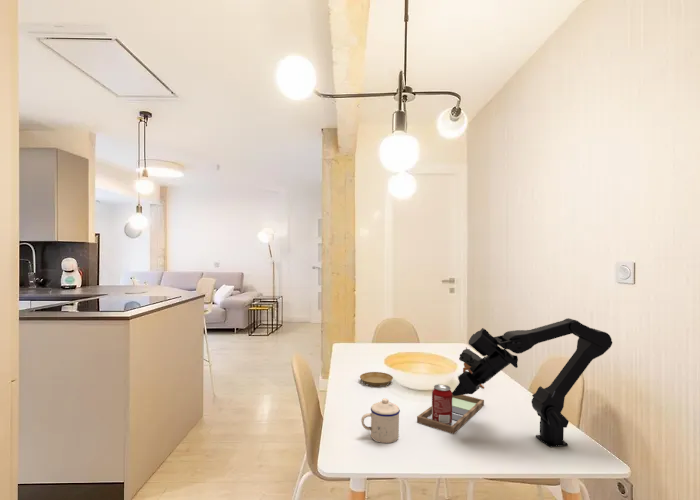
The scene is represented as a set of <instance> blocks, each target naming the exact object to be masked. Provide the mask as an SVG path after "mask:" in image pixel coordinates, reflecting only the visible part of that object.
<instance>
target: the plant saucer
mask: <svg viewBox="0 0 700 500" xmlns="http://www.w3.org/2000/svg"><path fill="white" fill-rule="evenodd" d="M359 379H360V380H361V381H362V382H363V384H365V385H367V386H370V387H385V386H387V385H389V384H390V383H391V382H392V380H394V377H393V375H391V374H389V373H385V372H380V371H369V372H368V371H367V372H365V373H362V374H361V375H360V376H359Z"/></svg>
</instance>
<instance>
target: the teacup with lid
mask: <svg viewBox="0 0 700 500" xmlns="http://www.w3.org/2000/svg"><path fill="white" fill-rule="evenodd" d="M370 411H371V413H370V412H369V413H365V414H363V415H362V417H361V419H360V420H361V425H362V427H363V429H364V430H366V431H370V436H371V438H372V439H373V440H374V441H376V442H379V443H383V444H390V443H394V442H396V441H398V439H399V437H400V436H399V435H400V434H399V431H400V430H399V429H400V426H399V425H400V412H401V410H400V407H399V406H398V405H397V404H395V403H393V402H390V401H389V399H388V398H382V399H381V401H378V402H375V403H373V404H372V405H371V407H370ZM369 417H371V419H370V421H371V422H370V426H367V425H366V424H365V419H366V418H369Z"/></svg>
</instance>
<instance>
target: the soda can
mask: <svg viewBox="0 0 700 500" xmlns="http://www.w3.org/2000/svg"><path fill="white" fill-rule="evenodd" d="M451 389H452V388H451V387H450V386H449V385H446V384H441V383H440V384H435V385H434V386H433V389H432V391H431V406H432V414H431V420H435V421H438V422H441V423H445V424H448V425H451V423H453V420H452V413H453V412H452V392H453V391H452V390H451Z"/></svg>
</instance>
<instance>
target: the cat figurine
mask: <svg viewBox="0 0 700 500" xmlns="http://www.w3.org/2000/svg"><path fill="white" fill-rule="evenodd" d="M465 349H469V348H467V347H465ZM469 350H471V349H469ZM463 366H464V367H463V368H462V373H464V372H465V371H468V372H470V373H471V374H472V371H471V370H470V369H469V368H470V367H471V366H469V365H467V364H466V363H464V362H463ZM480 388H482V389H485V386H484V385H483V384H480Z"/></svg>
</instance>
